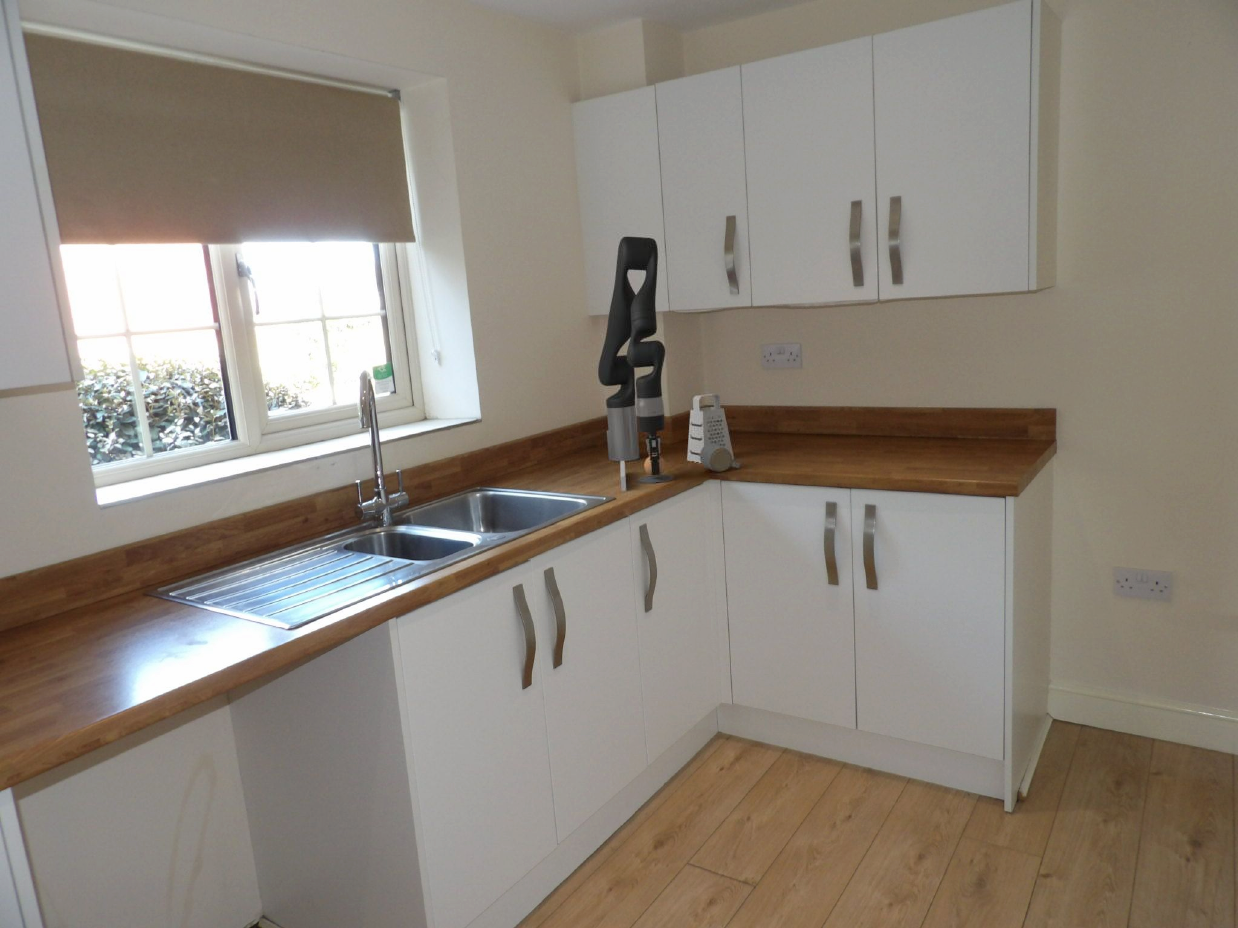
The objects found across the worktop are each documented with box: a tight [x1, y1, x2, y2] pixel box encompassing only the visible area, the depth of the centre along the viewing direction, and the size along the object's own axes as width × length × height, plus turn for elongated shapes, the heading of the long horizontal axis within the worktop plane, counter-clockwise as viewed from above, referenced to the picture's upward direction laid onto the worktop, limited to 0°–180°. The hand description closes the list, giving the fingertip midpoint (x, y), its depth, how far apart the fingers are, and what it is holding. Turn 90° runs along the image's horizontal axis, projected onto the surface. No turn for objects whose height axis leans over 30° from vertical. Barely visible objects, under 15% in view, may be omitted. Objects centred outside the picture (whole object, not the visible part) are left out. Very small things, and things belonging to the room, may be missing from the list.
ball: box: [643, 455, 667, 476], centre depth 252 cm, size 6×6×6 cm
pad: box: [637, 474, 674, 484], centre depth 253 cm, size 10×10×1 cm
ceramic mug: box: [700, 443, 741, 473], centre depth 259 cm, size 11×8×8 cm
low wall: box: [619, 461, 627, 492], centre depth 253 cm, size 24×1×4 cm, turn 0°
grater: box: [686, 393, 735, 464], centre depth 275 cm, size 10×10×20 cm
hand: (655, 472), depth 253 cm, fingers closed on ball, 5 cm apart
